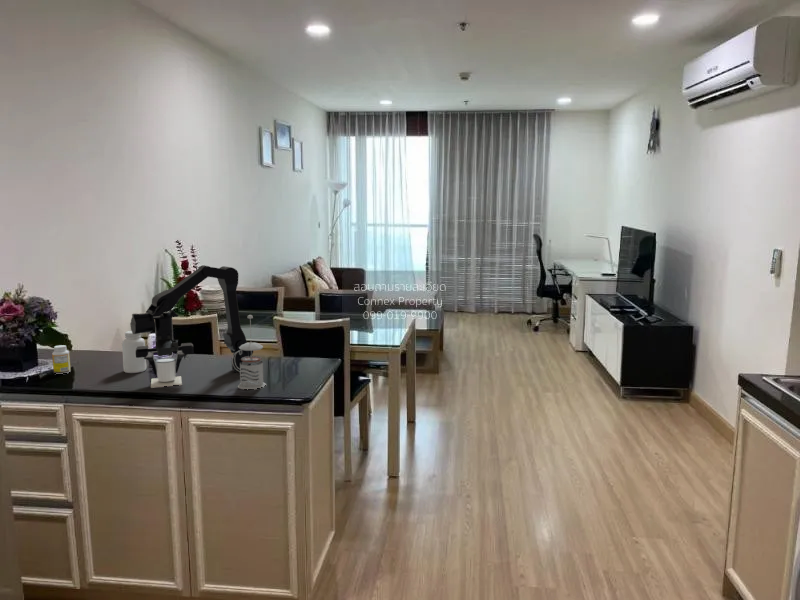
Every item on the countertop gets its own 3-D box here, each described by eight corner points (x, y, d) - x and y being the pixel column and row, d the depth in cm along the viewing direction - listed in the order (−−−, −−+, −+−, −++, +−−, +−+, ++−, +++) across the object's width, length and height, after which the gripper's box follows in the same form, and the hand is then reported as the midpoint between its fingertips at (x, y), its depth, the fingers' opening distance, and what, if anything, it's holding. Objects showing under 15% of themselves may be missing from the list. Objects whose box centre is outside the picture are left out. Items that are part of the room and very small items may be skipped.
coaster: (181, 377, 219) (181, 375, 219) (181, 385, 210) (181, 383, 210) (151, 380, 216) (151, 378, 216) (150, 387, 207) (150, 385, 206)
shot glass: (181, 378, 215) (180, 359, 214) (166, 383, 208) (165, 363, 207) (166, 375, 217) (165, 356, 216) (151, 380, 211) (150, 361, 210)
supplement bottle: (59, 371, 227) (57, 344, 226) (73, 371, 227) (72, 344, 225) (50, 374, 222) (48, 347, 220) (64, 375, 221) (62, 348, 220)
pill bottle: (118, 372, 226) (116, 332, 224) (135, 367, 234) (133, 329, 231) (134, 374, 223) (132, 334, 221) (151, 369, 231) (149, 330, 228)
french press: (259, 390, 205) (257, 317, 201) (227, 388, 207) (225, 316, 203) (270, 382, 214) (269, 313, 211) (240, 380, 216) (238, 311, 213)
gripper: (133, 336, 200) (136, 382, 202) (193, 333, 206) (195, 377, 209) (135, 330, 210) (137, 374, 212) (192, 327, 216) (193, 369, 219)
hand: (166, 374), depth 213 cm, fingers open, 6 cm apart
